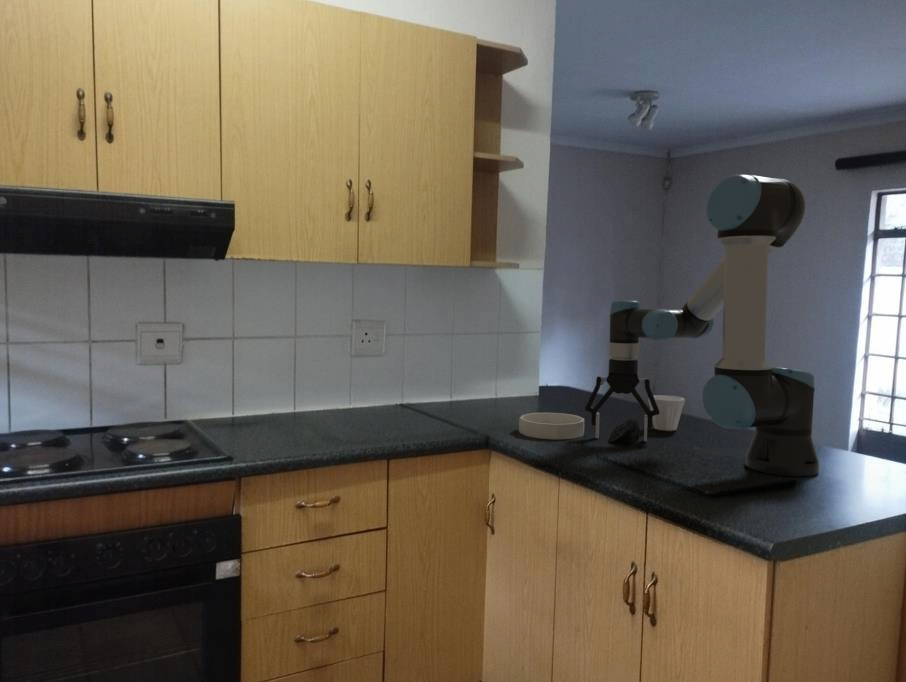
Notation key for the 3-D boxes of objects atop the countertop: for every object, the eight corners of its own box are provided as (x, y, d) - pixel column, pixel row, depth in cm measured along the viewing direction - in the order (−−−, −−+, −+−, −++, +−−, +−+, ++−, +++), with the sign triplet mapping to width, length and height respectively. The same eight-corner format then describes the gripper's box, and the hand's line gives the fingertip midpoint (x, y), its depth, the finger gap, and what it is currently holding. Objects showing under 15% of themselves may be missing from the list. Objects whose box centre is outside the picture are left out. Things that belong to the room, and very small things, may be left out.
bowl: (581, 441, 188) (581, 426, 188) (515, 436, 193) (515, 422, 192) (585, 428, 205) (586, 414, 205) (525, 424, 210) (525, 411, 209)
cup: (682, 427, 208) (683, 396, 208) (684, 434, 199) (685, 401, 198) (647, 425, 211) (648, 394, 210) (647, 431, 201) (648, 399, 201)
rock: (605, 444, 186) (606, 422, 185) (613, 437, 195) (614, 416, 195) (632, 447, 183) (633, 424, 182) (639, 439, 192) (640, 418, 192)
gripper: (670, 358, 189) (667, 438, 191) (578, 355, 195) (576, 433, 197) (671, 361, 182) (668, 444, 184) (576, 358, 188) (574, 438, 190)
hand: (621, 438), depth 191 cm, fingers open, 12 cm apart
